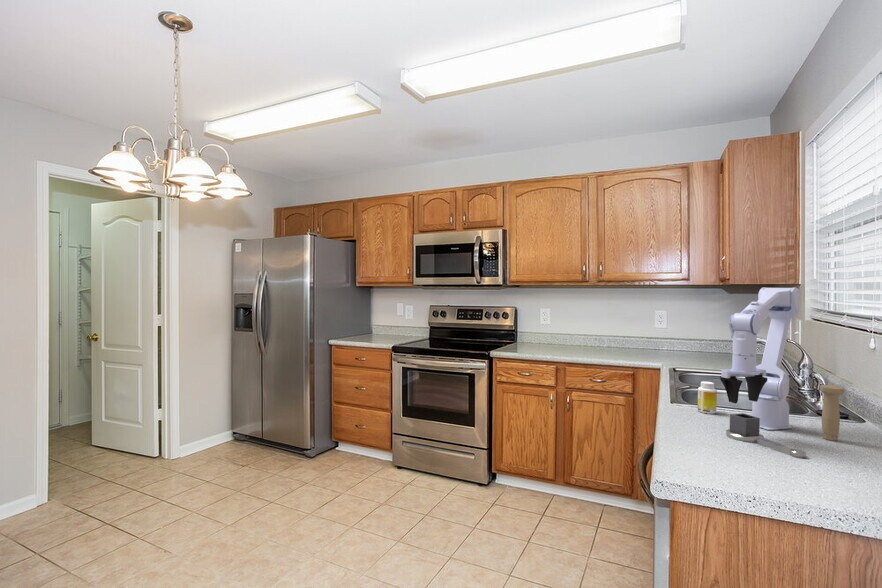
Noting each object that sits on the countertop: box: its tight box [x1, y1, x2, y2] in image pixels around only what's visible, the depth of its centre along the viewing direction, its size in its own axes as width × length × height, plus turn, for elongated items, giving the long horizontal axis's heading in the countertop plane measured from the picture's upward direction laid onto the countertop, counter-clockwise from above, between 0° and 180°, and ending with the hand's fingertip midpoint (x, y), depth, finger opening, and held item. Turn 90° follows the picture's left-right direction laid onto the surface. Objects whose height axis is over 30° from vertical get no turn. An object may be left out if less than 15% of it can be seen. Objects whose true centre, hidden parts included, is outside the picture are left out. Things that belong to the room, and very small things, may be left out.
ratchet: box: [725, 428, 807, 459], centre depth 122 cm, size 9×21×5 cm, turn 16°
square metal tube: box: [729, 413, 760, 437], centre depth 127 cm, size 5×5×5 cm
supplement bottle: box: [697, 380, 718, 415], centre depth 154 cm, size 6×6×10 cm
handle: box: [819, 384, 844, 442], centre depth 127 cm, size 5×6×15 cm
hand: (743, 401), depth 129 cm, fingers open, 7 cm apart
